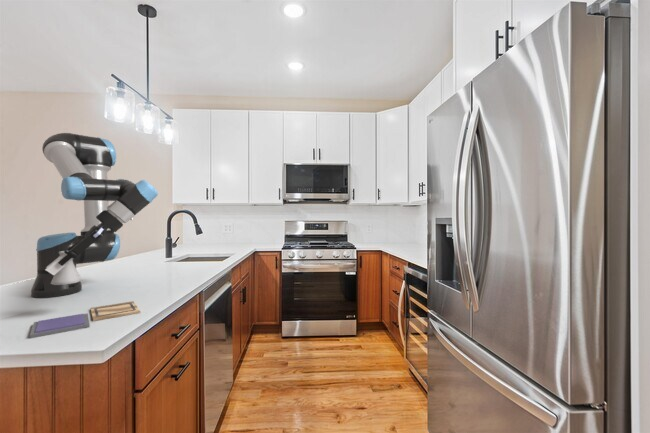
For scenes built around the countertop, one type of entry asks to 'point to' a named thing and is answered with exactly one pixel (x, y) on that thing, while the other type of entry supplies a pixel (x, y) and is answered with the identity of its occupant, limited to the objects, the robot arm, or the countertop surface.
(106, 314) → the marked board
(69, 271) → the flask
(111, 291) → the countertop surface
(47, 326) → the ink pad
